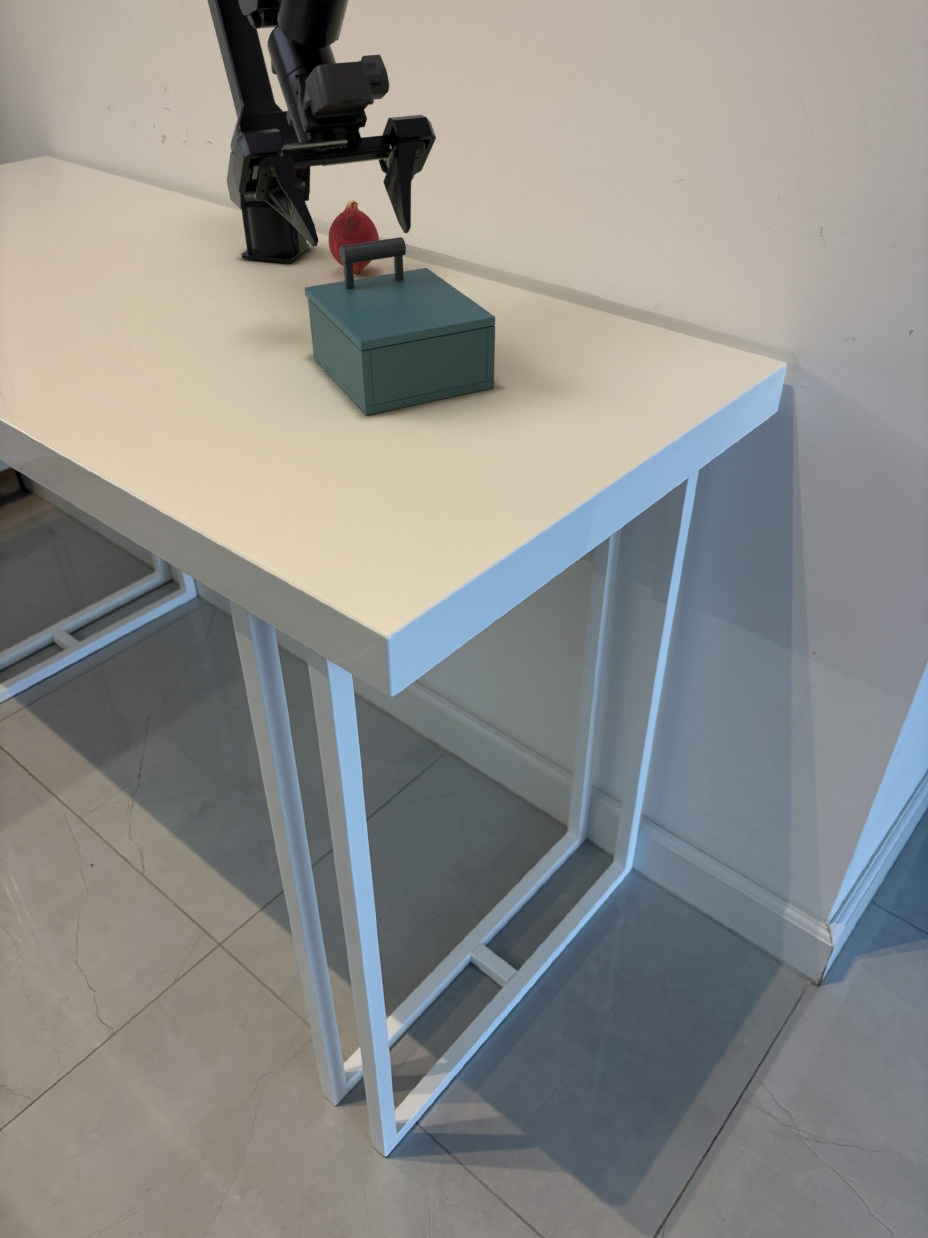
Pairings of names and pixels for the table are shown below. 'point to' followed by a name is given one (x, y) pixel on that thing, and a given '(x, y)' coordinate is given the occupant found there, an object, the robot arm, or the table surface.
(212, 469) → the table surface
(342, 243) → the onion
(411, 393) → the cool box
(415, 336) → the cool box lid
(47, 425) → the table surface
